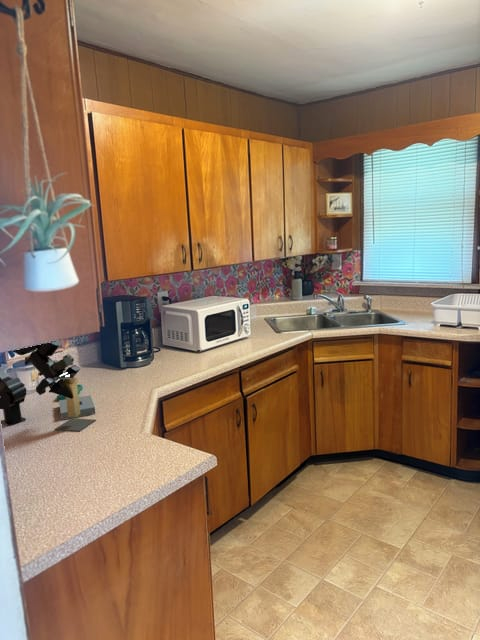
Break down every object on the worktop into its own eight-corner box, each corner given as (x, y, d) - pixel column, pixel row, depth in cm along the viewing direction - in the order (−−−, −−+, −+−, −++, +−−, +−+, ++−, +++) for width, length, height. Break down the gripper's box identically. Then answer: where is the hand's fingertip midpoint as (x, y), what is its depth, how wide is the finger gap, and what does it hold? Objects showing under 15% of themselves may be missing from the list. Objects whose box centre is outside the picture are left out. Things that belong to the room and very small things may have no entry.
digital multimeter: (56, 402, 197) (55, 395, 196) (66, 391, 211) (65, 384, 211) (74, 401, 197) (73, 394, 197) (83, 390, 212) (82, 383, 211)
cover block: (61, 419, 176) (60, 413, 175) (59, 406, 190) (58, 400, 190) (95, 413, 180) (94, 407, 180) (90, 401, 195) (90, 395, 194)
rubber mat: (54, 430, 166) (54, 429, 166) (71, 419, 175) (71, 418, 175) (79, 431, 163) (79, 430, 163) (95, 420, 173) (95, 419, 173)
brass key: (65, 416, 168) (61, 379, 166) (70, 413, 171) (66, 376, 168) (78, 417, 167) (73, 379, 164) (83, 414, 169) (79, 377, 167)
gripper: (39, 356, 157) (72, 389, 156) (72, 343, 174) (102, 373, 173) (21, 378, 160) (54, 411, 159) (56, 363, 178) (85, 393, 177)
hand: (75, 396), depth 167 cm, fingers closed on brass key, 3 cm apart
